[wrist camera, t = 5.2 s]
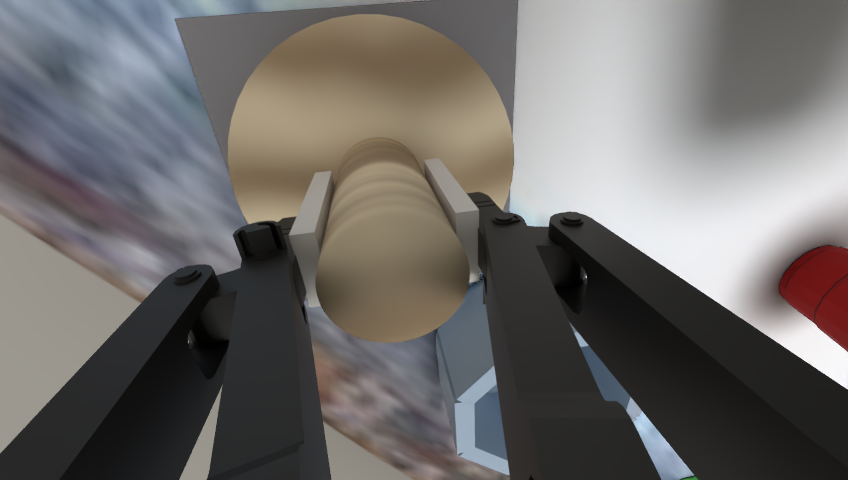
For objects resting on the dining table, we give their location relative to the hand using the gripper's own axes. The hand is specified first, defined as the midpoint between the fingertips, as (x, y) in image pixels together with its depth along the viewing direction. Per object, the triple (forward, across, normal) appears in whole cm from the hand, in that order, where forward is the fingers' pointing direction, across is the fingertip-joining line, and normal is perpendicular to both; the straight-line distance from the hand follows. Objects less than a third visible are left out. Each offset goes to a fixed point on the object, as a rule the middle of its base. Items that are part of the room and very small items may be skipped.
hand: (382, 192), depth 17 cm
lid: (+4, 0, 0) cm, 4 cm away
